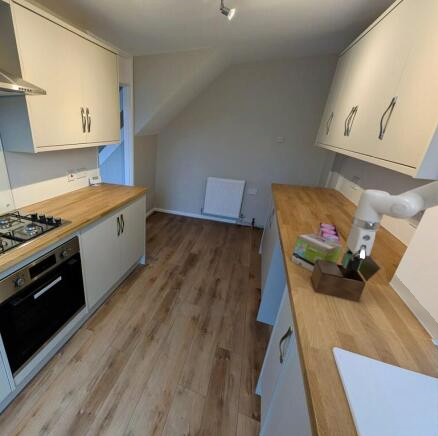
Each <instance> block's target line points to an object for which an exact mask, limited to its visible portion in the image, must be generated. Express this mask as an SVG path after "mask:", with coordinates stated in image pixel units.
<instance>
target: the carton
mask: <svg viewBox="0 0 438 436" xmlns="http://www.w3.org/2000/svg"><path fill="white" fill-rule="evenodd" d="M310 278H311V281H312V284H313V288H314V290H315V293H318V294H322V295H327V296H330V297H334V298H340V299H343V300H347V301H352V302H356V303H359V302H360V299H361V296H362V294H363V291H364V289H365V286H366V283H367V281H366V280H365V279H364V277H363V276H362V274H361V273H360V272H359V270H358V271H355V270H350V269H347V268H344V267H343V265H342V264H339V263H337V264H336V262H331V261H326V260H321V259H317V260H316V262H315V265H314V269H313V272H311V276H310Z"/></svg>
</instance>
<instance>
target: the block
mask: <svg viewBox="0 0 438 436" xmlns="http://www.w3.org/2000/svg"><path fill="white" fill-rule="evenodd" d="M356 256H359V255H355V257H356ZM351 257H352V254H348V253H346V252H343V255H342V258H341V261H340V265H343V267H344V268H347V265H348V263H349V260H350V259H351ZM361 262H362V261H361ZM361 262H360V265H361ZM360 265H359V267H358V270H357V271H358V272H359V268H360Z"/></svg>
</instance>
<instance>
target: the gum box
mask: <svg viewBox="0 0 438 436" xmlns="http://www.w3.org/2000/svg"><path fill="white" fill-rule="evenodd" d="M316 235H317V236H320V237H322V238H325V239H327V240H329V241H332V242H334V243H337V244H339V245H340V243H341V237H340V235H339V231H338V228H337V225H336V224H332V225H331V224H327V223H323V222H319V225H318V227H317V231H316Z"/></svg>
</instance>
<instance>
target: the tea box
mask: <svg viewBox="0 0 438 436" xmlns="http://www.w3.org/2000/svg"><path fill="white" fill-rule="evenodd" d="M342 250H343V245H341V244H340V243H339V244H337V243H334V242H332V241H329V240H327V239H325V238H322V237H320V236H317V234H315V233H312V232H311V233H305V234H300V235H297V237H296V240H295V245H294V248H293V252H292V257H291V261H292V262H293V263H295V264H297V265H299V266H300V267H302V268H304V269H306V270H308V271H309V272H311V273H312V272H313V269H314V265H315V262H316V260H317V259H321V260H326V261H331V262H336V264H338V262H339V258H340V256H341V252H342Z"/></svg>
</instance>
